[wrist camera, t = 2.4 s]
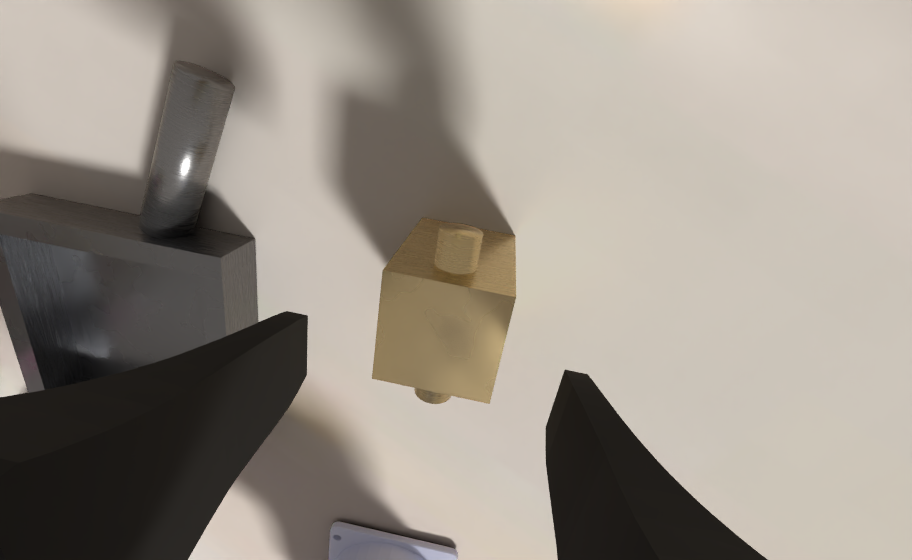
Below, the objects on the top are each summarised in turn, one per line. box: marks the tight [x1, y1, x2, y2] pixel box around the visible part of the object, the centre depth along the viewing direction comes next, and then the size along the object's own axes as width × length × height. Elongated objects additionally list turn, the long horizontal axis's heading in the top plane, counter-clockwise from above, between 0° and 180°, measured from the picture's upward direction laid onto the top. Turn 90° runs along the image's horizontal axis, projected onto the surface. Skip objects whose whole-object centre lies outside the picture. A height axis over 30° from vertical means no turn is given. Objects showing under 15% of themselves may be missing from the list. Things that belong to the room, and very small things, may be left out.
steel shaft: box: [138, 61, 235, 239], centre depth 17 cm, size 7×2×2 cm, turn 151°
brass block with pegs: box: [372, 218, 516, 404], centre depth 16 cm, size 6×4×6 cm, turn 171°
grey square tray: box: [0, 194, 258, 393], centre depth 21 cm, size 11×11×2 cm
